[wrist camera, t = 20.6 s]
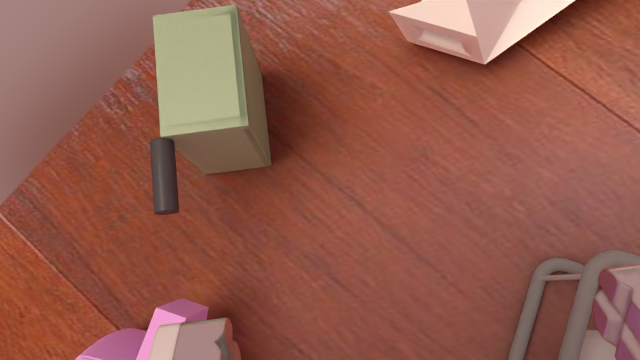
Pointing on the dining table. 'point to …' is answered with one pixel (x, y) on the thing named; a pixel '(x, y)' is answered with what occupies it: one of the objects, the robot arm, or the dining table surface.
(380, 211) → the dining table surface
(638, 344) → the robot arm
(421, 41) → the tissue
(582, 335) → the newton's cradle
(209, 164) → the green shelf unit
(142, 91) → the dining table surface
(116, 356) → the teakettle
